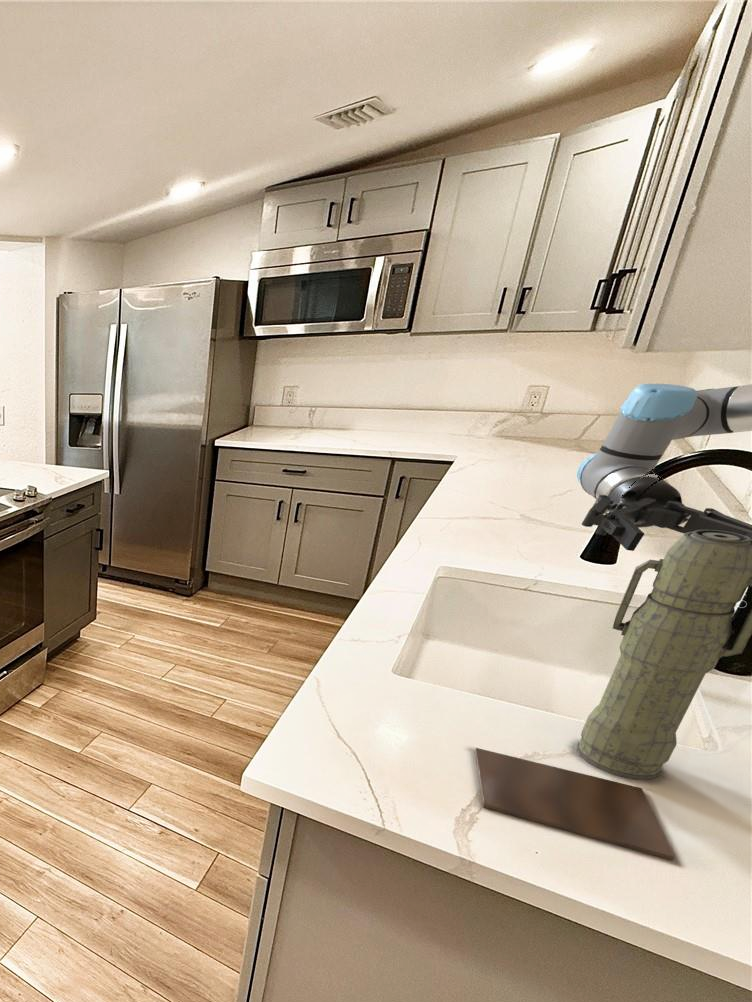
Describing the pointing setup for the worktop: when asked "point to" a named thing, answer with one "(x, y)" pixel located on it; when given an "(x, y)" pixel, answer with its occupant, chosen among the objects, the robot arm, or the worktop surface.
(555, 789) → the board
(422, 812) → the worktop surface
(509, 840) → the worktop surface
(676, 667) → the thermos
